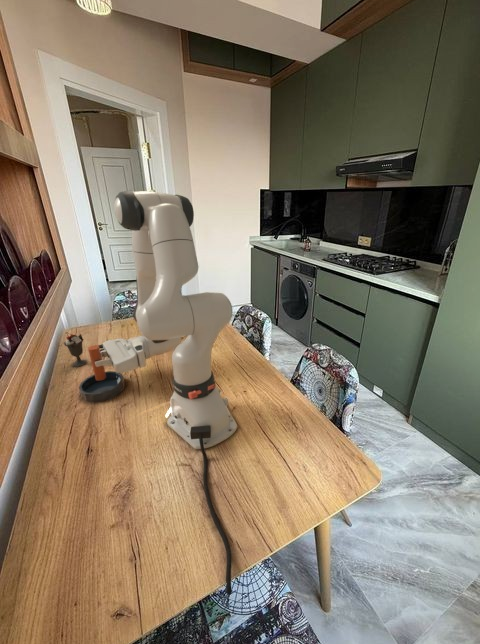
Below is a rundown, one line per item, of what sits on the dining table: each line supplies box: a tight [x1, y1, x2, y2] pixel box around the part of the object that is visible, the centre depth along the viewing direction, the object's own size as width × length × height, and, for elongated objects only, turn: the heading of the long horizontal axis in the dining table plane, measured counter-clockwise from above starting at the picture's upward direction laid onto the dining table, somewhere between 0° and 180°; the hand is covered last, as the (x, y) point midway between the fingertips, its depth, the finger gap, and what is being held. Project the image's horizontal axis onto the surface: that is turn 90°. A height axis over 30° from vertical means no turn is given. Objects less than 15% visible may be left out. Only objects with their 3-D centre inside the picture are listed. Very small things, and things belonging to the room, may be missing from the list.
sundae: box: [63, 331, 88, 368], centre depth 115 cm, size 7×7×15 cm
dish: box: [78, 370, 126, 403], centre depth 101 cm, size 14×14×4 cm
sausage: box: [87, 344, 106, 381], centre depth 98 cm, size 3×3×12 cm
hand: (93, 361), depth 97 cm, fingers closed on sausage, 3 cm apart
